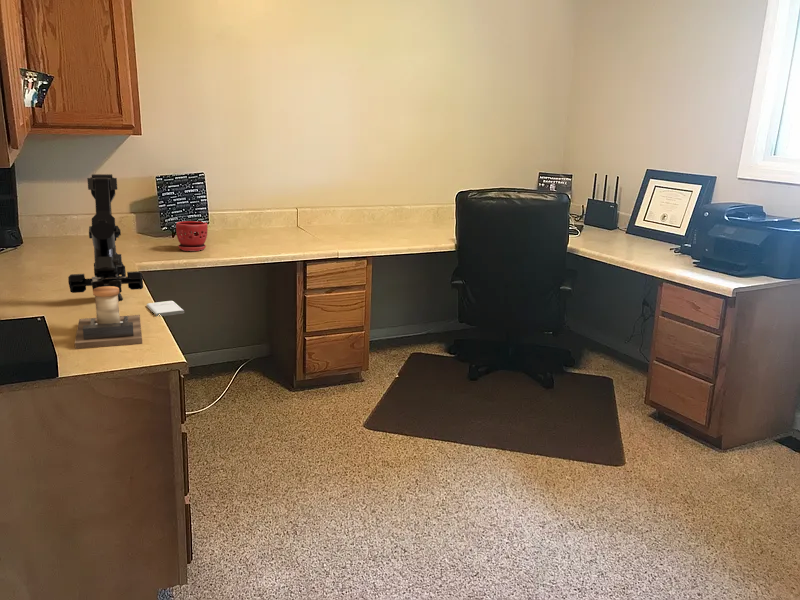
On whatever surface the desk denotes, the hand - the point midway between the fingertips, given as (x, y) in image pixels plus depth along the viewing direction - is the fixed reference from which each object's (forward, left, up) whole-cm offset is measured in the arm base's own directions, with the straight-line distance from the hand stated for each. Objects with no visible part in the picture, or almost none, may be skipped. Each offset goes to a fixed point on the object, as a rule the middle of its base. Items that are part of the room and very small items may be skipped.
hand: (108, 308), depth 186 cm
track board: (+1, 0, -7) cm, 7 cm away
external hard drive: (-18, +17, -8) cm, 26 cm away
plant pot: (-110, +42, -7) cm, 118 cm away
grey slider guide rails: (+1, 0, -5) cm, 6 cm away
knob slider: (+3, 0, -5) cm, 6 cm away
